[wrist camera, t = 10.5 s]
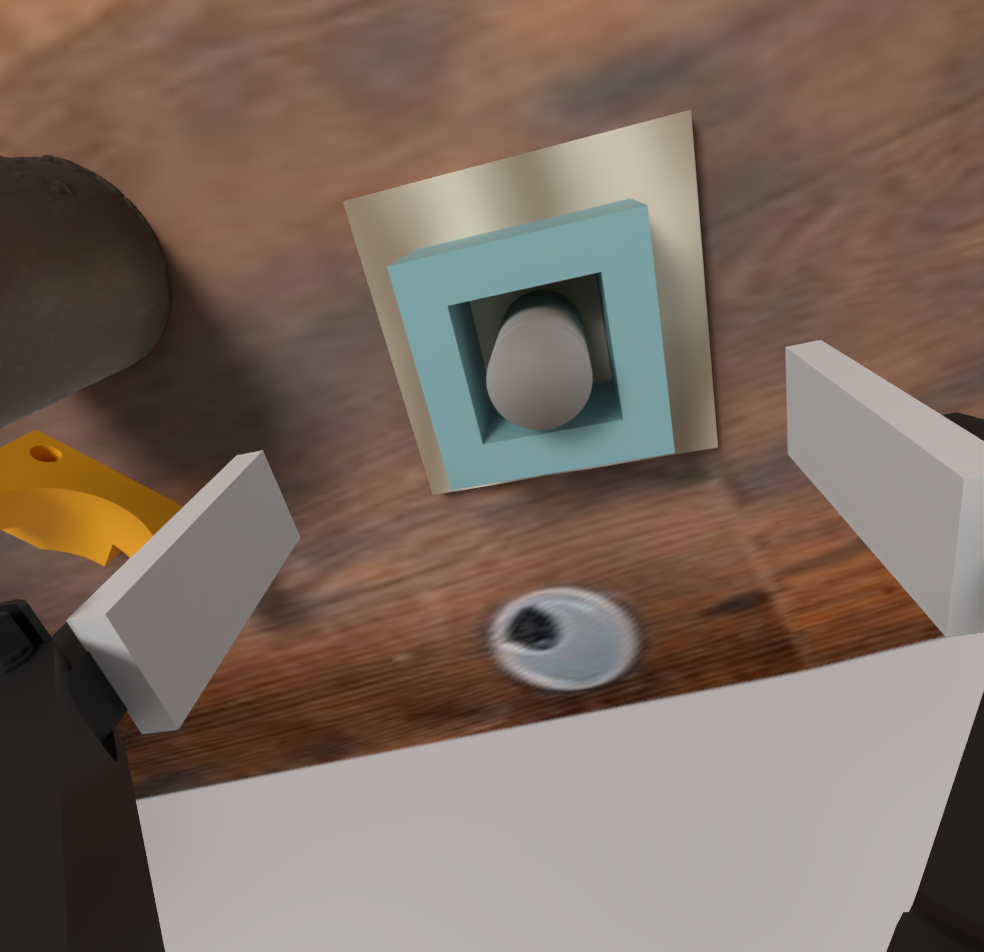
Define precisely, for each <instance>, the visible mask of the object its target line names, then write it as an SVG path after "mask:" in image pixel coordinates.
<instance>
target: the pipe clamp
mask: <svg viewBox="0 0 984 952" xmlns="http://www.w3.org/2000/svg"><path fill="white" fill-rule="evenodd" d="M183 507H184V506H182V505H180V504H178V503H176V502H174V501H172V500H170V499H168V498H167V497H165V496H163V495H161V494H159V493H157V492H155V491H153V490H151V489H149V488H147V487H145V486H143V485H142V484H140V483H138V482H136V481H134V480H132V479H130V478H128V477H126V476H124V475H122V474H120V473H119V472H117V471H115V470H113V469H111V468H109V467H107V466H105V465H103V464H101V463H99V462H97V461H95V460H94V459H92V458H90V457H88V456H86V455H84V454H82V453H80V452H78V451H76V450H74V449H72V448H71V447H69V446H67V445H65V444H63V443H61V442H59V441H57V440H55V439H53V438H51V437H49V436H47V435H46V434H44V433H42V432H40V431H38V430H35V431H33V432H31V433H29V434H27V435H25V436H23V437H21V438H19V439H17V440H15V441H13V442H11V443H9V444H7V445H5V446H3V447H1V448H0V530H3V531H5V532H7V533H9V534H11V535H13V536H15V537H17V538H19V539H21V540H24V541H26V542H28V543H30V544H32V545H34V546H36V547H38V548H40V549H44V550H55V551H62V552H67V553H72V554H76V555H79V556H82V557H85V558H88V559H90V560H93V561H95V562H97V563H99V564H101V565H103V566H104V567H105V566H106V565H107V564H108V563H109V562H110V561H111V560H113V559H114V558H115V557H116V556H117V555H118V554H119V553H120V552H122V551H123V552H124V553H125V554H126V555H127V556H129V558H131V557H132V556H133V555H134V554H135V553H136V552H137V551H138V550H139V549H140V548H141V547H142V546H143V545H144V544H145V543H146V542H147V541H149V540H150V539H151V538H152V537H153V536H154V535H155V534H156V533H157V532H158V531H159V530H160V529H161V528H162V527H163V526H164V525H165V524H166V523H167V522H168V521H169V520H170V519H171V518H172V517H173V516H174V515H175V514H176V513H177V512H179V511H180V510H181V509H182V508H183Z"/></svg>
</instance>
